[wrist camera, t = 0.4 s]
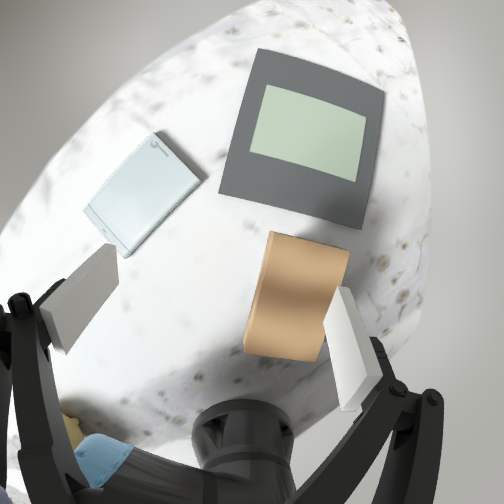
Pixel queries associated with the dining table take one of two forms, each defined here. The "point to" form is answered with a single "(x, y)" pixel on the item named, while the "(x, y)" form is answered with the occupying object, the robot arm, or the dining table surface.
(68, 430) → the toy pig
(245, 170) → the mat
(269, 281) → the card box
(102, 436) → the robot arm
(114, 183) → the hard drive
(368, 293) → the dining table surface
